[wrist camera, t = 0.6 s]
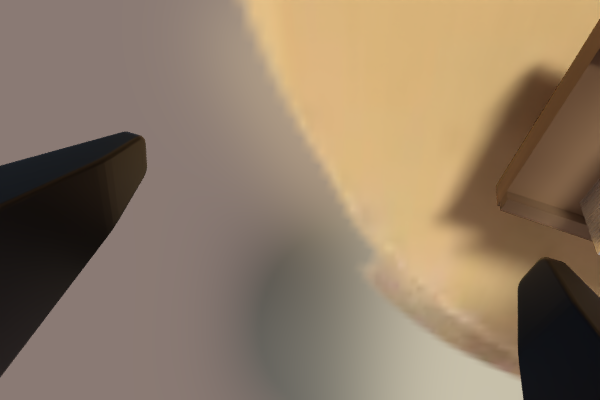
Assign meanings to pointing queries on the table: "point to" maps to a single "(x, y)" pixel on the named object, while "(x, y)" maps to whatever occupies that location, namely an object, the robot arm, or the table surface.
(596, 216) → the block
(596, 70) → the beam
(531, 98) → the table surface
